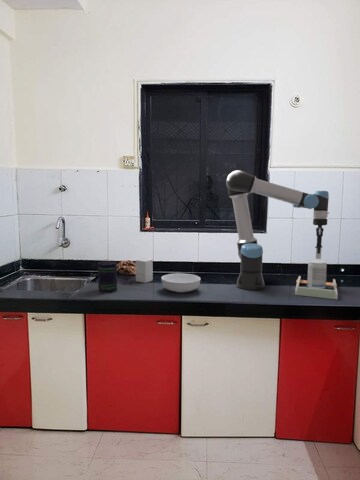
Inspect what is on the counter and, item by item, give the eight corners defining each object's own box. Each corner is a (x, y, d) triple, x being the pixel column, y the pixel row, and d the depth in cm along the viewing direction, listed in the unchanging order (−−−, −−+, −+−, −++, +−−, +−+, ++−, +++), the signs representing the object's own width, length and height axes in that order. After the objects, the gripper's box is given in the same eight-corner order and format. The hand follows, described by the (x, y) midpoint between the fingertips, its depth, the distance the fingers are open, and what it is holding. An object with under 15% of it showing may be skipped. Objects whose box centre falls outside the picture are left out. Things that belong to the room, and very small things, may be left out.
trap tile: (296, 282, 206) (296, 282, 206) (296, 280, 212) (296, 279, 212) (337, 286, 198) (337, 286, 198) (336, 283, 204) (336, 283, 204)
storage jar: (110, 287, 193) (110, 260, 191) (121, 290, 186) (120, 262, 184) (94, 290, 186) (94, 262, 184) (104, 294, 179) (104, 265, 177)
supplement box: (153, 280, 208) (153, 259, 206) (145, 283, 202) (145, 261, 200) (143, 278, 212) (143, 258, 210) (135, 281, 206) (135, 260, 204)
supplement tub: (329, 288, 194) (330, 262, 192) (318, 290, 189) (320, 263, 187) (313, 284, 202) (315, 259, 200) (303, 286, 197) (304, 260, 195)
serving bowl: (175, 298, 173) (175, 284, 172) (154, 288, 191) (154, 276, 190) (208, 292, 185) (208, 279, 184) (185, 283, 202) (186, 271, 201)
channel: (294, 294, 181) (295, 287, 180) (298, 280, 212) (298, 273, 212) (337, 299, 173) (337, 291, 173) (334, 283, 205) (335, 276, 204)
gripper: (327, 219, 193) (325, 261, 196) (327, 217, 205) (325, 257, 208) (313, 218, 196) (311, 260, 199) (313, 217, 208) (311, 256, 211)
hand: (318, 258), depth 204 cm, fingers closed
